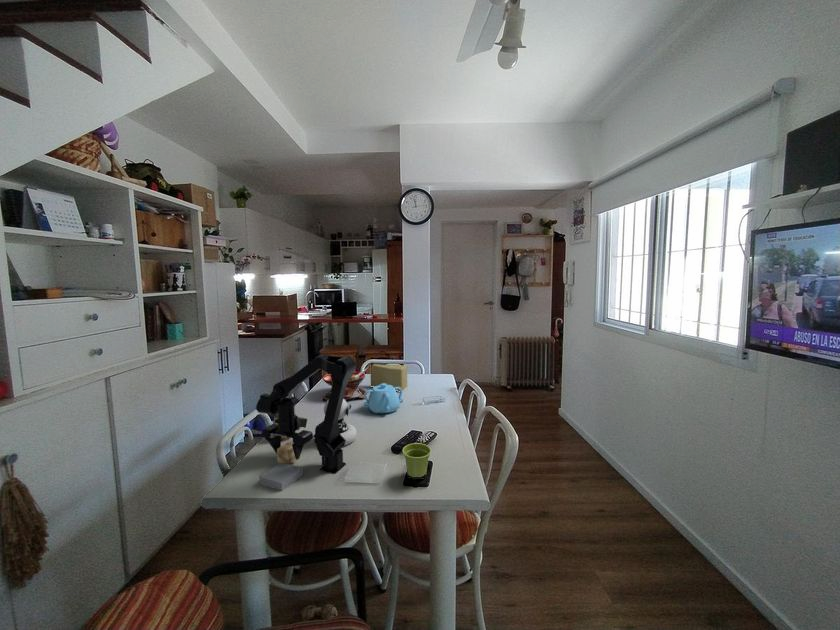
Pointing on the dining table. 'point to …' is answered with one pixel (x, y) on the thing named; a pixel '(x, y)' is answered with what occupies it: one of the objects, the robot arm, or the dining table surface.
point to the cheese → (389, 375)
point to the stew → (348, 385)
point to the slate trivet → (281, 476)
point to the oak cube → (286, 454)
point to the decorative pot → (383, 398)
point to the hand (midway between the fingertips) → (288, 457)
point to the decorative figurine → (344, 423)
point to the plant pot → (416, 459)
